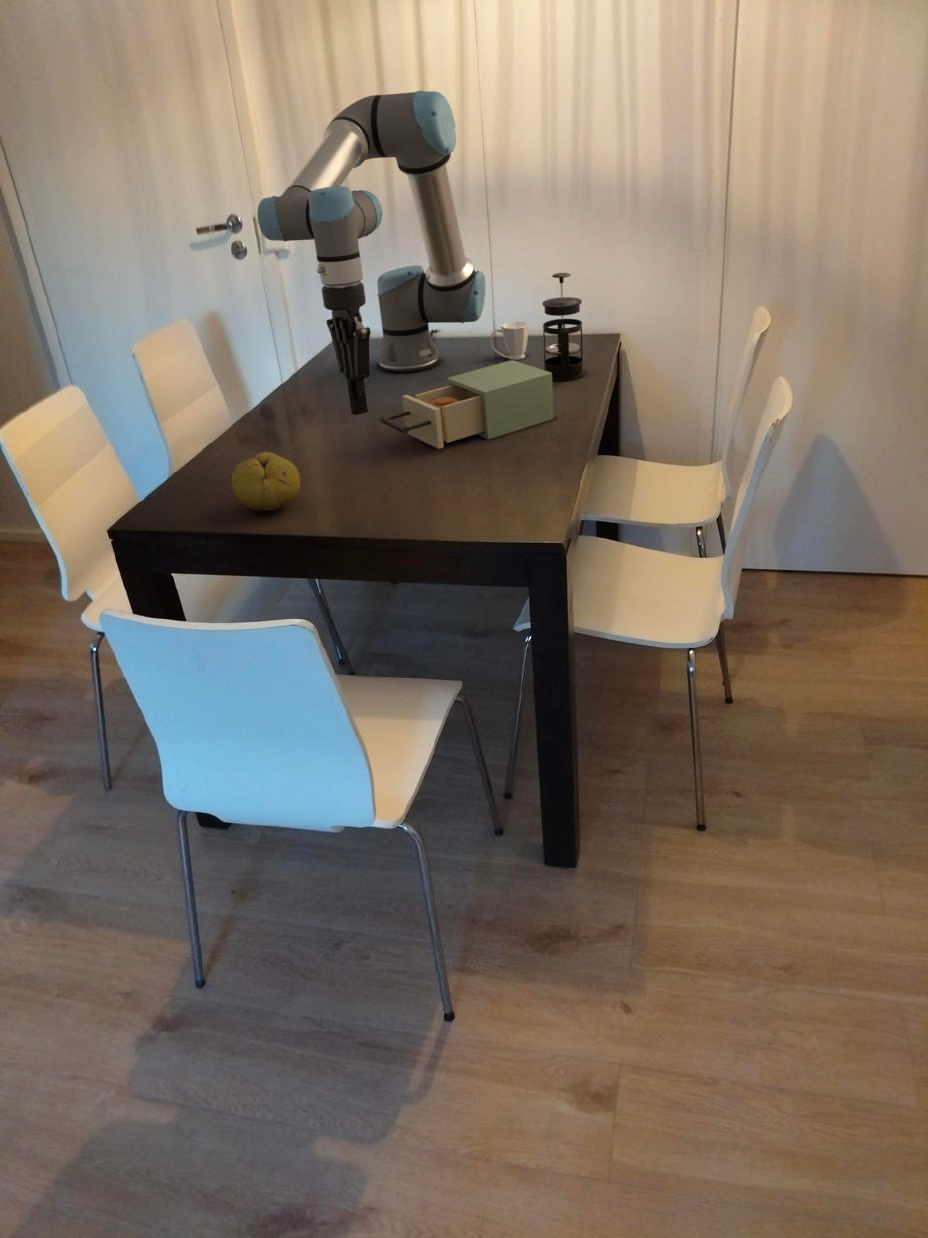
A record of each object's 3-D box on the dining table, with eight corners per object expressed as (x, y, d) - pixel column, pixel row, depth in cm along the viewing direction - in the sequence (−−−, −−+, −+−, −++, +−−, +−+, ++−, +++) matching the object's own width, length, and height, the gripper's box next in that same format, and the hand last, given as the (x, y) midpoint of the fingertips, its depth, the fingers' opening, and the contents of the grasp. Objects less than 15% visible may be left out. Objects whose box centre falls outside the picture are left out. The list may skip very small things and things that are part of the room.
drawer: (410, 457, 180) (406, 418, 176) (378, 441, 189) (373, 403, 185) (503, 428, 190) (500, 390, 186) (468, 414, 199) (465, 378, 195)
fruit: (247, 497, 172) (236, 446, 167) (310, 494, 171) (300, 442, 166) (232, 524, 162) (220, 470, 157) (299, 520, 162) (288, 466, 156)
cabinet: (488, 439, 188) (484, 392, 183) (450, 423, 198) (446, 377, 193) (553, 418, 195) (552, 372, 190) (514, 404, 206) (512, 359, 200)
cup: (529, 360, 233) (527, 327, 229) (489, 361, 235) (487, 329, 231) (531, 352, 239) (530, 320, 235) (493, 354, 241) (491, 322, 237)
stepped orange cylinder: (425, 424, 192) (423, 397, 189) (459, 419, 194) (457, 391, 191) (433, 435, 186) (430, 407, 183) (468, 430, 188) (465, 402, 185)
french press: (542, 369, 226) (539, 270, 214) (581, 366, 225) (580, 267, 213) (545, 384, 216) (542, 281, 204) (586, 381, 215) (585, 277, 203)
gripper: (307, 282, 168) (326, 409, 180) (340, 292, 159) (358, 425, 171) (344, 275, 171) (361, 400, 183) (378, 284, 162) (393, 415, 174)
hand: (359, 412), depth 177 cm, fingers closed
